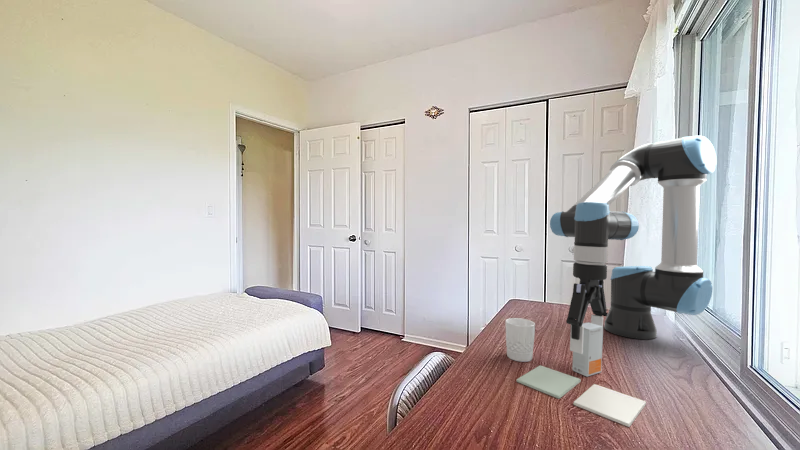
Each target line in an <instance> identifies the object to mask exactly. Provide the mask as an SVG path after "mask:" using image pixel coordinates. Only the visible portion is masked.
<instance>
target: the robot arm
mask: <svg viewBox="0 0 800 450" xmlns="http://www.w3.org/2000/svg"><path fill="white" fill-rule="evenodd" d="M717 163H718V161H717V153H716V150H715V147H714V145H713V144H712V142H711V141H710V139H708V138H707V137H706V136H703V135H693V136H683V137H678V138H672V139H667V140H662V141H661V140H660V141H657V142H651V143H646V144H642V145H640V146H638V147H636V148H634V149H632V150H631V151H629V152H627V153H626V154H624V155H622V156H621V157H620V158H619V159H617V161H615V162H614V163H613V164H612V165H611V166H610V168H609V172H608V173H607V174H605V176H604V177H602V178H601V179H600V180H599V181H598V182H597V183H596V184H595V185H594V186H593V187H592V188H591V189H589V191H587V192H586V193H585V194H584V195H583V196H582V197H581V198H579V199H578V201H577V202H576V203H574V204H573V206H571V207H570V208H569V209H568V210H567V211H559V212H555V213H554V214H552V216H551V218H550V220H549V221H550V222H549V228H550V230H551V232H552V233H553V234H554V235H555V236H558V237H559V236H560V237H565V238H574V243H573V244H574V245H573V248H572V252H573V260H574V261H575V262H573V264H572V265H573V266H572V267H573V268H572V276H573V277H575V278H577V279H579V283H573V286H572V287H573V288H572V295H571V301H570V304H569V309H568V312H567V313H568V314H567V318H566V324H567V325H570V334H569V335H570V338H569V339H570V341H569V351H571V352H572V353H573V352H577V353H580V354H582V353H583V336H584V326H582V324H583V323H584V320H585V317H586V314H587V311H588V307H589V305H590V309H591V311H592V314H591V318H590V323H593V324H596V325H599V326H603V329H604V330H606V331H607V332H609V333H611V334H614V335H618V336H620V337H625V338H629V339H630V338H631V339H636V340H653V339H656V338H657V336H658V335H657V334H658V333H657V332H658V331H657V327H656V324H655V322H654V319H653V315H652V308H656V309H660V310H664V311H670V312H673V313H677V314H680V315H681V314H684V315H688V316H689V315H690V316H697V315H700V314H702V313H703V312H704V311H705V310H706V309H707V308H708V306H709V304H710V301H711V298H712V295H713V284H712V281H711V280H710V279H709V278H707V277H704V270H703V269H702V268H700V266H698V245H699V244H698V243H699V241H698V240H699V239H698V238H699V214H700V213H699V211H700V210H699V209H700V207H699V206H700V187H701V185H703V184H704V183H705V182H707V175H710V174H713V173H714V172H715V170H716V167H717ZM650 179H657V183H658V184H659V185H660V186H661V187H662V188H663V195H662V224H661V225H662V227H661V230H662V232H661V261H660V263H658V264H657V265H656V266H655V267H654V271H653V267H652V266H648V265H627V266H626V265H625V266H616V267H614V268H613V269H612V270H611V277H610V308H609V309H608V310H607V303H606V302H607V301H606V295H605V288H604V285H605V284H604V283H605V282H604V281H605V280H606V279H607V277H608V266H607V265H606V264H607V262H608V255H609V254H608V253H609V251H608V250H609V240H611V241H612V240H616V241H617V240H618V241H624V240H629V239H631V238H633V237H634V236H636V235H637V233H638V232H639V228H640V225H639V221H638V219H637V217H636V216H635V215H633V214H632V213H630V212H625V211H611V210H610V206H611V205H612V204H613V203H614V202H615V201H616V200H617V199H618V198H620V196H621V195H622V194H623V193H624V192H625V191H626V190H627V189H628V188H629V187H632V186H635V185H636V184H637V185H638V183H639V182H641V181H644V180H650ZM607 311H608V312H607ZM604 317H606V318H605V320H604Z"/></svg>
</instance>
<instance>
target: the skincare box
mask: <svg viewBox="0 0 800 450" xmlns="http://www.w3.org/2000/svg"><path fill="white" fill-rule="evenodd" d="M582 326H584V336H583V353H582V354H580V353H577V352H573V351H572V368H571V369H572V371H573V372H575V373H578V374H580V375H582V376H584V377H587V378H588V377H590V376H594V375H597V374H601V373H602V369H603V368H602V364H603V363H602V362H603V359H602V358H603V341H604V340H603V338H604V337H603V336H604V325H603V326H599V325H596V324H593V323H591V321H590V322H589V321H588V322H583V324H582Z"/></svg>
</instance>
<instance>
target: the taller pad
mask: <svg viewBox="0 0 800 450" xmlns="http://www.w3.org/2000/svg"><path fill="white" fill-rule="evenodd" d="M573 405H574V406H576V407H578V408H581V409H584V410H586V411H588V412H591V413H594V414H595V415H598V416H601V417H603V418H606V419H608V420H610V421H613V422H616V423H619V424H620V425H623V426H626V427H628V428H630V427H631V426H632V424H633V423H634V422H635V420H636V419H637V417H638V416H639V415H640V413H641V412H642V410H643V409H644V408H645V407H646V405H647V402H646V401H645V400H643V399H640V398H637V397H634V396H631V395H628V394H625V393H622V392H619V391H616V390H614V389H611V388H608V387H604V386H601V385H599V384H597V383H596V384H595V383H593V384H592V385H591V386H590V387H589V388H588V389H587V390H586V391H584V392H583V393H582V394H581V395H579V397H578V398H576V399H575V400H574V401H573Z"/></svg>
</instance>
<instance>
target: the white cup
mask: <svg viewBox="0 0 800 450" xmlns="http://www.w3.org/2000/svg"><path fill="white" fill-rule="evenodd" d="M535 330H536V323H535V322H534V321H533V320H530V319H526V318H521V317H510V318H506V319H505V342H506V343H505V345H506V355H507V358H509V359H510V360H512V361H516V362H522V363H526V362H531V361H532V360H533V350H534V345H535V344H534V343H535V333H536V331H535Z"/></svg>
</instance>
